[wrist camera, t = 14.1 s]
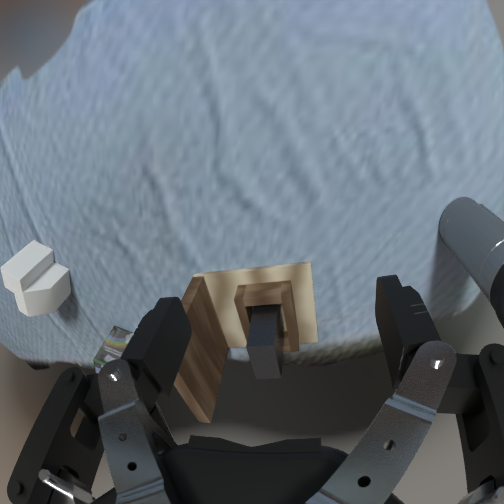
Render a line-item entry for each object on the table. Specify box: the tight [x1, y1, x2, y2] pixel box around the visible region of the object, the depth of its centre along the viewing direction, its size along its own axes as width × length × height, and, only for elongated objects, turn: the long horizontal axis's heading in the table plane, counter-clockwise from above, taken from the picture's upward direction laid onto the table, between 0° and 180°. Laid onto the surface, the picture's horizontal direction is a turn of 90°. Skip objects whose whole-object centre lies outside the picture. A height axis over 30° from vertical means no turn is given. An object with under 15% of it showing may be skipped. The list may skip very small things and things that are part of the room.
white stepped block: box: [1, 240, 71, 317], centre depth 51 cm, size 11×11×12 cm
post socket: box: [174, 262, 318, 423], centre depth 45 cm, size 20×18×19 cm
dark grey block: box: [246, 304, 285, 379], centre depth 47 cm, size 4×8×12 cm, turn 11°
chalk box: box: [93, 326, 134, 373], centre depth 58 cm, size 9×9×15 cm
